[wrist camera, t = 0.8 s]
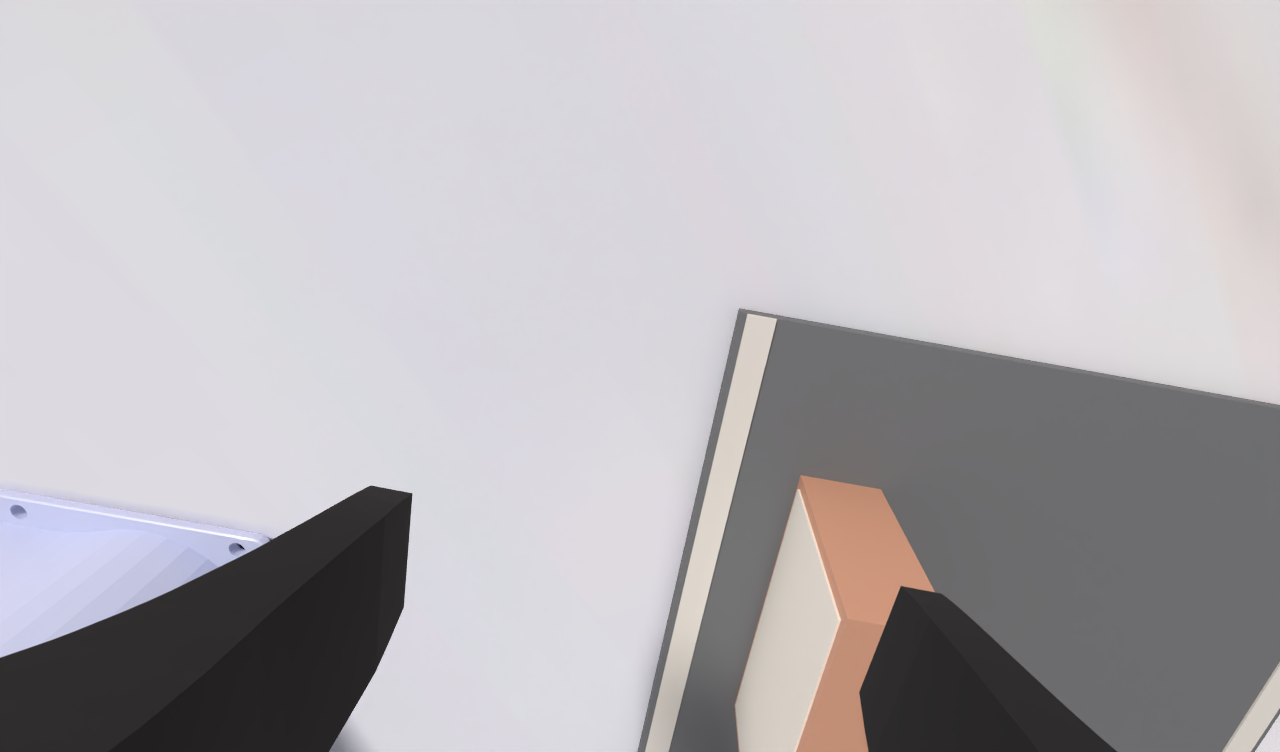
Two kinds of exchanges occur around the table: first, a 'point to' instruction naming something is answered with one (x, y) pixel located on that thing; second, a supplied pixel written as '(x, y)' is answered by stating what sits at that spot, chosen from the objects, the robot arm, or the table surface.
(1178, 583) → the mat
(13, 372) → the table surface
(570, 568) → the table surface
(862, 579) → the card box
